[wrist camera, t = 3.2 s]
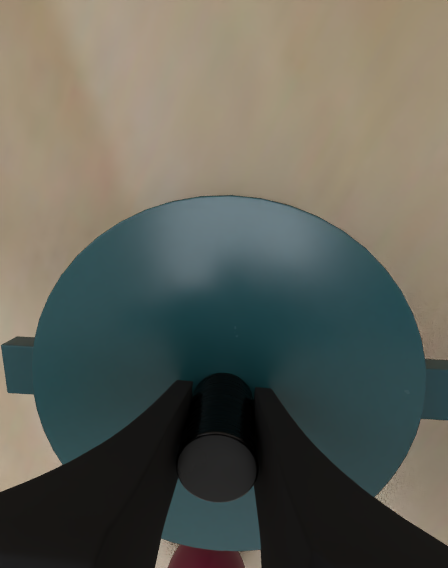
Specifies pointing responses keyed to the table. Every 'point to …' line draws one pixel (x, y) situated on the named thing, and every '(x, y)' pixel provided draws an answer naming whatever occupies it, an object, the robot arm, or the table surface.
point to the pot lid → (231, 350)
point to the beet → (205, 558)
